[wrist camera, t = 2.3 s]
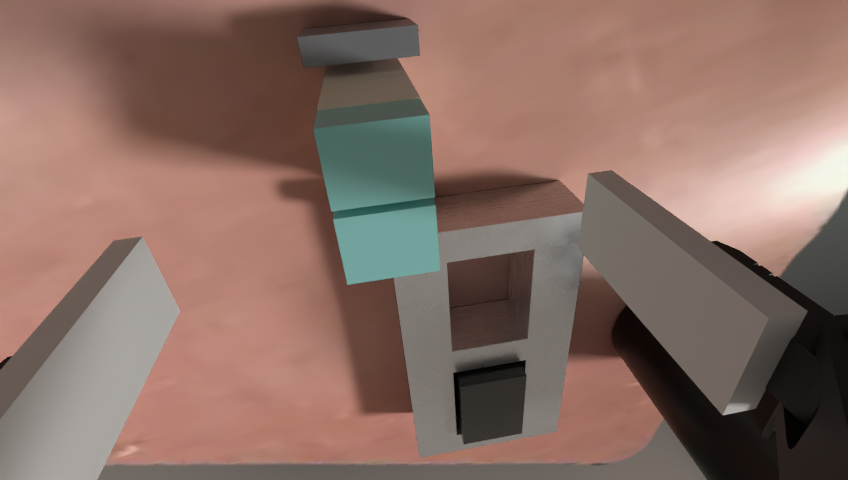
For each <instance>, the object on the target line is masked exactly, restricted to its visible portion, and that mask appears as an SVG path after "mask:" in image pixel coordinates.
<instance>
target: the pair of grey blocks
mask: <svg viewBox="0 0 848 480" xmlns="http://www.w3.org/2000/svg"><path fill="white" fill-rule="evenodd" d="M297 40H298V45H299V49H300V54H301V59H302V63H303V68H310V67H319V66H329V65H338V64H347V63H356V62H365V61H375V60H384V59H393V58H402V57H412V56H420V51H419V38H418V25H417V24H416V23H414V22H413V21H412V20H410V19H399V20H389V21H379V22H369V23H359V24H349V25H339V26H329V27H319V28H309V29H303V30H302V31H301V33H300V34H299V35H298V36H297Z"/></svg>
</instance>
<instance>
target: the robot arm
mask: <svg viewBox="0 0 848 480" xmlns="http://www.w3.org/2000/svg"><path fill="white" fill-rule="evenodd" d="M578 249H579V250H580V251H581V252H582V254H583V255H584V256H585V257H586V258H587V259H588V261H589V262H590V263H591V264H592V265H593V266H594V267H595V269H596V270H597V271H598V272H599V273H600V274H601V276H602V277H603V278H604V279H605V280H606V281H607V282H608V284H609V285H610V286H611V287H612V288H613V289H614V291H615V292H616V293H617V294H618V295H619V296H620V297H621V299H622V300H623V301H624V302H625V303H626V304H627V306H628V307H629V308H630V309H631V310H632V311H633V312H634V314H635V315H636V316H637V317H638V318H639V319H640V321H641V322H642V323H643V324H644V325H645V326H646V327H647V329H648V330H649V331H650V332H651V333H652V334H653V336H654V337H655V338H656V339H657V340H658V341H659V343H660V344H661V345H662V346H663V347H664V348H665V349H666V351H667V352H668V353H669V354H670V355H671V356H672V358H673V359H674V360H675V361H676V362H677V363H678V364H679V366H680V367H681V368H682V369H683V370H684V371H685V373H686V374H687V375H688V376H689V377H690V378H691V379H692V381H693V382H694V383H695V384H696V385H697V386H698V388H699V389H700V390H701V391H702V392H703V393H704V394H705V396H706V397H707V398H708V399H709V400H710V401H711V403H712V404H713V405H714V406H715V407H716V408H717V409H718V411H719V412H720V413H721V414H722V415H727V414H732V413H737V412H742V411H747V410H752V409H756V407H757V405H758V403H759V402H760V400H761V398H762V396H763V394H764V392H765V390H766V389H767V390H768V391H769V392H770V393H771V394H772V395H773V396H774V397H775V398H776V399H777V400H778V401H779V403H778V405H777V407H776V409H775V410H774V412H773V414H772V416H771V417H770V419H769V421H768V423H767V424H766V426H765V428H764V430H763V433H762V438H765V439H768V438H769V437H770V435H771V433H772V432H773V431H774V430H776V443H777V456H778V468H779V480H848V314H846V315H835V316H834V315H833V314H831V313H830V312H828V311H827V310H825V309H824V308H822V307H821V306H820V305H818V304H817V303H815V302H814V301H812V300H811V299H809V298H808V297H806V296H805V295H804V294H802V293H801V292H799V291H798V290H796V289H795V288H793V287H792V286H790V285H789V284H788V283H786V282H785V281H783V280H782V279H780V278H779V277H777V276H775V277H774V276H773V273H772V272H770V271H769V270H767V269H766V268H764V267H763V266H758V263H757V262H756V261H754V260H753V259H751V258H750V257H748V256H747V255H745V254H744V253H743V252H741V251H740V250H737V249H735V248H732V247H730V246H728V245H725V244H723V243H720V242H718V241H712V242H711V241H709V240H708V239H706V238H705V237H704V236H702V235H701V234H700V233H698V232H697V231H695V230H694V229H693V228H691V227H690V226H688V225H687V224H686V223H684V222H683V221H681V220H680V219H679V218H677V217H676V216H674V215H673V214H672V213H670V212H669V211H668V210H666V209H665V208H663V207H662V206H661V205H659V204H658V203H656V202H655V201H654V200H652V199H651V198H649V197H648V196H647V195H645V194H644V193H642V192H641V191H640V190H638V189H637V188H635V187H634V186H633V185H631V184H630V183H629V182H627V181H626V180H624V179H623V178H622V177H620V176H619V175H617V174H616V173H615V172H613V171H612V170H610V171H603V172H596V173H589V174H588V178H587V185H586V193H585V200H584V207H583V214H582V221H581V229H580V236H579V243H578ZM179 312H180V310H179V308H178V306H177V304H176V302H175V300H174V298H173V296H172V294H171V292H170V290H169V288H168V286H167V284H166V282H165V280H164V278H163V276H162V274H161V272H160V270H159V268H158V266H157V264H156V262H155V260H154V258H153V256H152V254H151V252H150V250H149V249H148V247H147V245H146V243H145V241H144V239H143V237H137V238H130V239H123V240H115V241H113V242H112V243H111V244H110V245H109V247H108V248H107V249H106V250H105V251H104V252H103V253H102V255H101V256H100V257H99V258H98V259H97V260H96V261H95V263H94V264H93V265H92V266H91V267H90V268H89V269H88V271H87V272H86V273H85V274H84V275H83V276H82V277H81V279H80V280H79V281H78V282H77V283H76V284H75V285H74V287H73V288H72V289H71V290H70V291H69V292H68V293H67V295H66V296H65V297H64V298H63V299H62V300H61V301H60V303H59V304H58V305H57V306H56V307H55V308H54V309H53V311H52V312H51V313H50V314H49V315H48V316H47V317H46V318H45V320H44V321H43V322H42V323H41V324H40V325H39V326H38V328H37V329H36V330H35V331H34V332H33V333H32V334H31V336H30V337H29V338H28V339H27V340H26V341H25V342H24V344H23V345H22V346H21V347H20V348H19V349H18V350H17V352H16V353H15V354H14V355H13V356H11V357H7V358H6V359H5V360H3V361H2V362H1V363H0V480H97V479H98V477H99V475H100V473H101V471H102V469H103V467H104V465H105V463H106V461H107V459H108V457H109V455H110V453H111V451H112V449H113V447H114V445H115V443H116V441H117V439H118V436H119V434H120V432H121V430H122V428H123V426H124V424H125V422H126V420H127V418H128V416H129V414H130V412H131V410H132V408H133V406H134V404H135V402H136V400H137V398H138V396H139V394H140V392H141V390H142V388H143V386H144V384H145V382H146V380H147V378H148V375H149V373H150V371H151V369H152V367H153V365H154V363H155V361H156V359H157V357H158V355H159V353H160V351H161V349H162V347H163V345H164V343H165V341H166V339H167V337H168V335H169V333H170V331H171V329H172V327H173V325H174V323H175V321H176V319H177V317H178V314H179Z"/></svg>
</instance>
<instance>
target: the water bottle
mask: <svg viewBox="0 0 848 480" xmlns="http://www.w3.org/2000/svg"><path fill="white" fill-rule="evenodd" d="M612 340H613V345H614V347H615V349H616V350H617V352H618V353H619V355H620V356H621V358H622V359H623V360H624V362H625V363H626V365H627V366H628V368H629V369H630V370H631V372H632V373H633V375H634V376H635V378H636V379H637V380H638V382H639V383H640V385H641V386H642V388H643V389H644V390H645V392H646V393H647V395H648V396H649V398H650V399H651V400H652V402H653V403H654V405H655V406H656V408H657V409H658V410H659V412H660V413H661V415H662V416H663V418H664V419H665V420H666V422H667V423H668V425H669V426H670V428H671V429H672V430H673V432H674V433H675V435H676V436H677V438H678V439H679V440H680V442H681V443H682V445H683V446H684V448H685V449H686V450H687V452H688V453H689V455H690V456H691V458H692V459H693V461H694V462H695V463H696V465H697V466H698V468H699V469H700V470H701V472H702V473H703V475H704V476H705V478H706V479H707V480H779V468H778V456H777V443H776V430H774V431H773V432H772V433H771V435H770V437H769V438H768V439H765V438H762V433H763V430H764V428H765V426H766V424H767V423H768V421H769V419H770V417H771V416H772V414H773V412H774V410H775V409H776V407H777V405H778V403H779V401H778V400H777V399H776V398H775V397H774V396H773V395H772V394H771V393H770V392H769V391H768V390H767V389H766V390H765V392H764V394H763V396H762V398H761V400H760V402H759V403H758V405H757V407H756V409H752V410H747V411H742V412H737V413H732V414H727V415H722V414H721V413H720V412H719V411H718V409H717V408H716V407H715V406H714V405H713V404H712V403H711V401H710V400H709V399H708V398H707V397H706V396H705V394H704V393H703V392H702V391H701V390H700V389H699V388H698V386H697V385H696V384H695V383H694V382H693V381H692V379H691V378H690V377H689V376H688V375H687V374H686V373H685V371H684V370H683V369H682V368H681V367H680V366H679V364H678V363H677V362H676V361H675V360H674V359H673V358H672V356H671V355H670V354H669V353H668V352H667V351H666V349H665V348H664V347H663V346H662V345H661V344H660V343H659V341H658V340H657V339H656V338H655V337H654V336H653V334H652V333H651V332H650V331H649V330H648V329H647V327H646V326H645V325H644V324H643V323H642V322H641V321H640V319H639V318H638V317H637V316H636V315H635V314H634V312H633V311H632V310H631V309H630V308H629V307H627V308H626V309H625V311H624V312H623V313H622V314H621V316H620V317H619V319H618V321H617V323H616V325H615V327H614V330H613V336H612Z"/></svg>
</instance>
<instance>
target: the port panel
mask: <svg viewBox="0 0 848 480" xmlns="http://www.w3.org/2000/svg"><path fill="white" fill-rule="evenodd" d="M433 199H434V202H435V204H436V216H437V231H438V245H439V260H440V271H435V272H428V273H422V274H415V275H409V276H402V277H396V278H393V279H394V286H395V293H396V300H397V307H398V314H399V321H400V328H401V334H402V341H403V348H404V355H405V362H406V369H407V376H408V383H409V390H410V397H411V404H412V411H413V417H414V424H415V431H416V438H417V444H418V451H419V458H421V457H426V456H432V455H437V454H442V453H447V452H453V451H458V450H463V449H468V448H473V447H479V446H484V445H489V444H494V443H500V442H505V441H510V440H515V439H520V438H526V437H531V436H536V435H541V434H547V433H552V432H556V431H557V425H558V418H559V412H560V405H561V399H562V392H563V386H564V379H565V373H566V366H567V360H568V354H569V347H570V341H571V334H572V328H573V321H574V315H575V308H576V302H577V295H578V289H579V282H580V276H581V270H582V263H583V257H584V255H583V254H582V252H581V251H580V250H579V249H578V243H579V236H580V229H581V221H582V214H583V207H584V204H583V203H582V202H581V201H580V200H579V199H578V198H577V197H576V196H575V195H574V194H573V193H572V192H571V191H570V190H569V189H568V188H567V187H566V186H565V185H564V184H563V183H562V182H561V181H560V180H559V181H552V182H545V183H537V184H530V185H523V186H516V187H508V188H501V189H494V190H487V191H480V192H472V193H465V194H458V195H451V196H443V197H436V198H433ZM508 253H510V266H509V290H508V299H506V300H500V301H494V302H488V303H482V304H475V305H469V306H463V307H457V308H451V309H450V308H449V291H448V274H447V263H449V262H455V261H462V260H469V259H475V258H482V257H488V256H495V255H502V254H508Z"/></svg>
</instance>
